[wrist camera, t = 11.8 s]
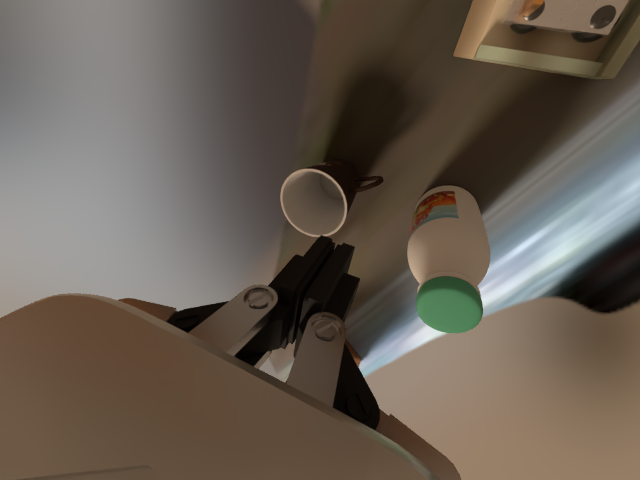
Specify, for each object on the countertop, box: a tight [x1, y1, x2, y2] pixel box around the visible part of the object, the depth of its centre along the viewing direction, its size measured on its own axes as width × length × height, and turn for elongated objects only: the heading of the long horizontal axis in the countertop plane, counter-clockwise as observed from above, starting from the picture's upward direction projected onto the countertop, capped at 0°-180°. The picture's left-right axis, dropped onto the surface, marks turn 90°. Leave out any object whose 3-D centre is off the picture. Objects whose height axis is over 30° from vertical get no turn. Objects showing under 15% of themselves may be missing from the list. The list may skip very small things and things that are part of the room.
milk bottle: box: [408, 185, 490, 333], centre depth 28 cm, size 8×8×20 cm
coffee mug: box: [280, 159, 383, 237], centre depth 35 cm, size 12×9×10 cm
